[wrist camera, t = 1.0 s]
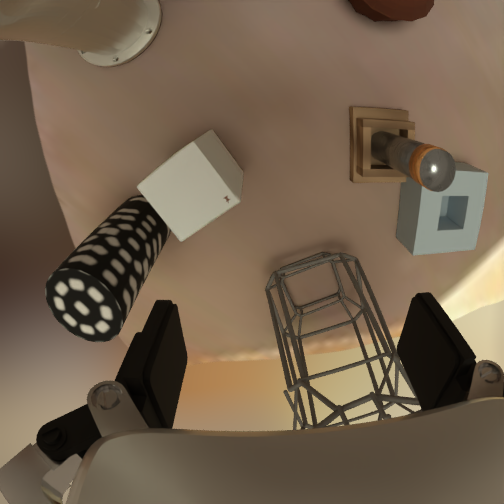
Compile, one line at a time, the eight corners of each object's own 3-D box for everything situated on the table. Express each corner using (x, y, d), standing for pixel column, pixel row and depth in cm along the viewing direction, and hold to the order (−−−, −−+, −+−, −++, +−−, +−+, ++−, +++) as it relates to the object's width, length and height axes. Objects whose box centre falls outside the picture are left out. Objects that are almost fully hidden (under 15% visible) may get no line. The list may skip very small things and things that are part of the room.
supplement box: (212, 127, 36) (195, 138, 25) (245, 173, 39) (243, 204, 28) (166, 160, 38) (133, 186, 27) (199, 203, 41) (181, 245, 30)
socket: (402, 159, 38) (423, 168, 33) (465, 162, 38) (488, 173, 32) (395, 236, 43) (412, 255, 38) (455, 233, 43) (474, 249, 38)
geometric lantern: (349, 222, 42) (487, 448, 12) (364, 303, 50) (444, 495, 19) (245, 256, 45) (252, 522, 14) (277, 331, 52) (302, 538, 21)
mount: (349, 106, 35) (359, 107, 31) (403, 110, 35) (417, 112, 31) (349, 179, 39) (359, 188, 36) (401, 179, 39) (414, 187, 36)
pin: (367, 129, 35) (422, 147, 22) (396, 130, 35) (458, 150, 22) (367, 161, 37) (419, 193, 24) (395, 161, 37) (454, 193, 24)
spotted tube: (183, 226, 42) (140, 318, 25) (145, 259, 45) (94, 353, 27) (143, 183, 39) (70, 250, 22) (107, 219, 42) (33, 297, 24)
